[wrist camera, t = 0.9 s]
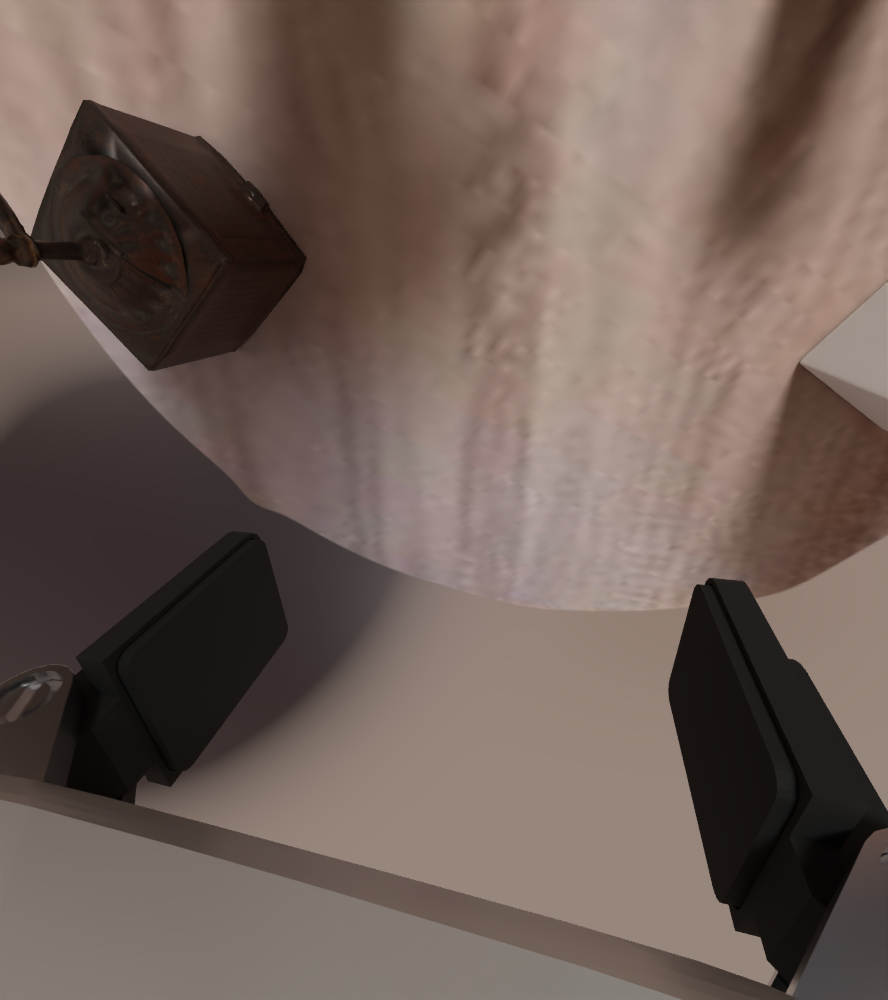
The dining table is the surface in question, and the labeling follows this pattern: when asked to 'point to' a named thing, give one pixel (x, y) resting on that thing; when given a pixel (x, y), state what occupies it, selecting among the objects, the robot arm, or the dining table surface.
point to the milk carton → (858, 358)
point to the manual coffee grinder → (156, 238)
